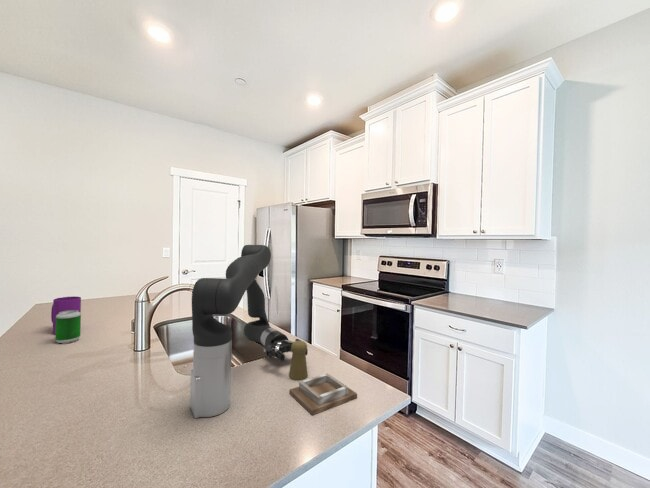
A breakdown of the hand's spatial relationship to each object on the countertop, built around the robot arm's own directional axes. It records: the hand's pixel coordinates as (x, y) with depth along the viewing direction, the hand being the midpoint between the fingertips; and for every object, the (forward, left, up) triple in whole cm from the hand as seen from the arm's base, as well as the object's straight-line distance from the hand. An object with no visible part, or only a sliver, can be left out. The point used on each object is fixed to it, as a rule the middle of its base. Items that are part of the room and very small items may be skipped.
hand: (295, 355), depth 94 cm
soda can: (-64, +73, -6) cm, 97 cm away
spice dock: (0, -16, -6) cm, 17 cm away
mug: (-68, +91, -6) cm, 114 cm away
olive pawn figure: (0, -2, -6) cm, 7 cm away
